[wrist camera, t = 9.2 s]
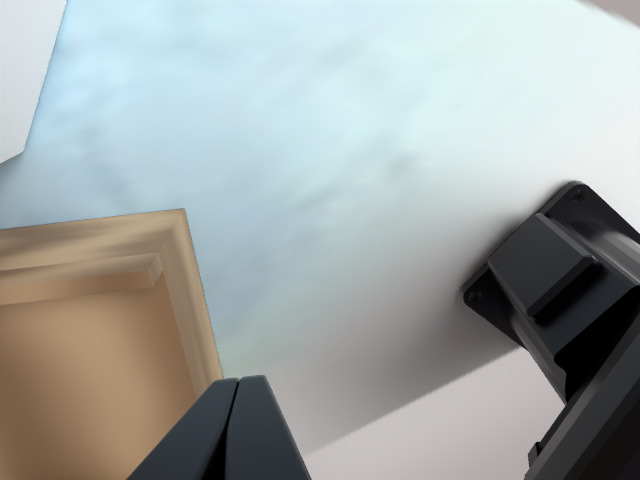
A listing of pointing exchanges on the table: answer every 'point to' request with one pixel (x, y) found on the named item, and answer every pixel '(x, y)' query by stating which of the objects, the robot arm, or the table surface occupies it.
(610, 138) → the table surface
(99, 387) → the wooden box
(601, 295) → the robot arm
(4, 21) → the milk carton
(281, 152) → the table surface
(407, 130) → the table surface
